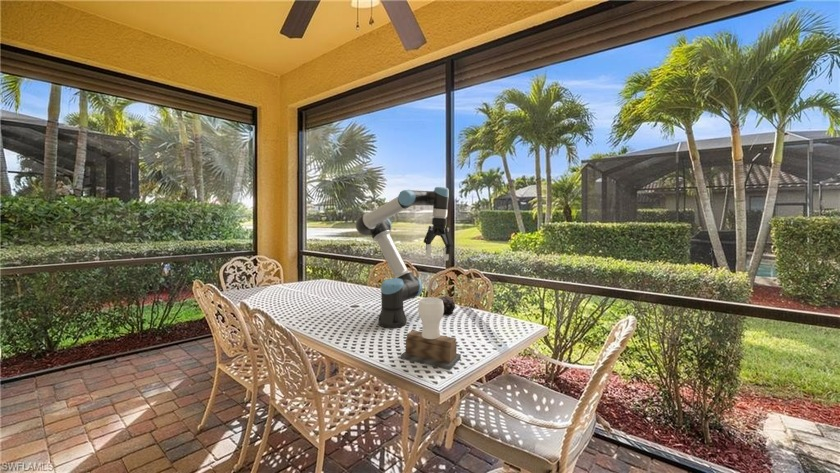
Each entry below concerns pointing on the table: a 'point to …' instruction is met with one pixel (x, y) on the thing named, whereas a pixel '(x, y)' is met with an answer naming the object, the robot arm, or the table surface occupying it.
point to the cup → (431, 316)
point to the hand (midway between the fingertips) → (436, 258)
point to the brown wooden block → (431, 350)
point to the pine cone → (448, 305)
